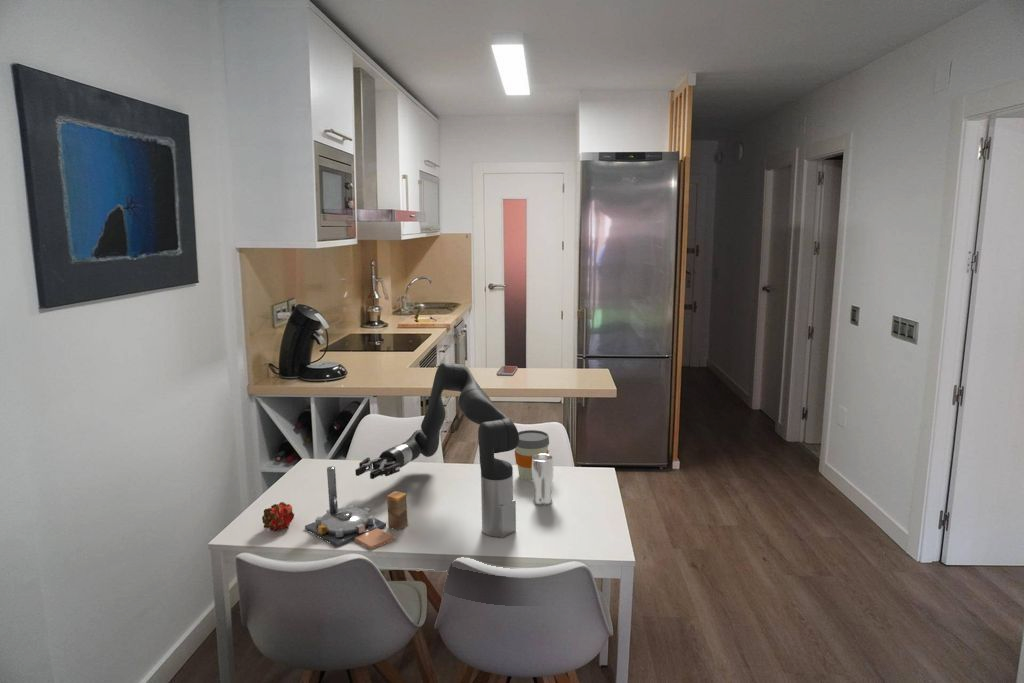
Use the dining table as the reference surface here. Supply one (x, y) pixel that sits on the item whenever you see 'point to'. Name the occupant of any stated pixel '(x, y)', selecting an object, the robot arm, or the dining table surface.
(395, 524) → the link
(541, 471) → the silver metal cylinder
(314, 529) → the sprocket base
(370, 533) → the salmon brown square slab
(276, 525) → the dragon fruit
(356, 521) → the sprocket
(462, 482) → the dining table surface
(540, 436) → the reusable coffee cup
